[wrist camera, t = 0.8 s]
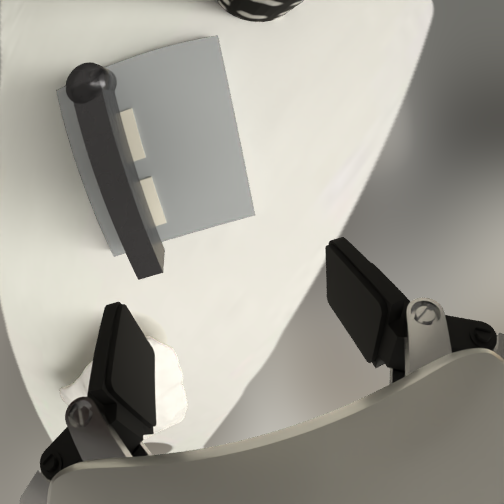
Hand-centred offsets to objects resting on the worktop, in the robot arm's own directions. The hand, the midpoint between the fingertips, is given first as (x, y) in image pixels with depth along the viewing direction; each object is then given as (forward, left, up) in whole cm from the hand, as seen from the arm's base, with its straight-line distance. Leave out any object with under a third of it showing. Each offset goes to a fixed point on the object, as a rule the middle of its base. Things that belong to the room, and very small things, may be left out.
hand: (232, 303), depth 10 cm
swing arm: (-4, -6, -16) cm, 18 cm away
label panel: (-4, -3, -20) cm, 21 cm away
